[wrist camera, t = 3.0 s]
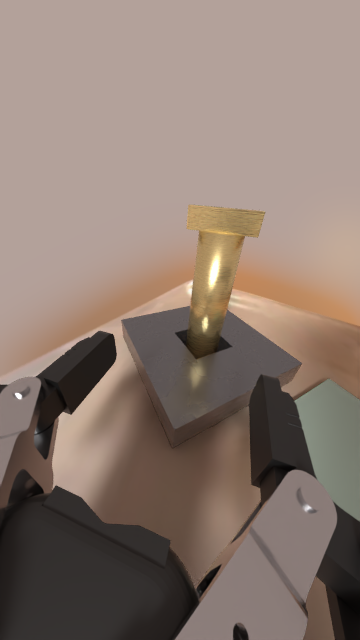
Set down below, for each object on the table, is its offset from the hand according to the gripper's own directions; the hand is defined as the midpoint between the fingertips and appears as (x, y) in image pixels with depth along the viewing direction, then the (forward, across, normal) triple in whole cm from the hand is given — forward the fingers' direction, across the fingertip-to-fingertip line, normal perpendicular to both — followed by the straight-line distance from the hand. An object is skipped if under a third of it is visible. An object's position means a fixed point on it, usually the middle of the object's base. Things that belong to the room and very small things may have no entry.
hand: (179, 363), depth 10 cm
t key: (+11, 0, +10) cm, 15 cm away
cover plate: (+11, 0, +10) cm, 15 cm away
